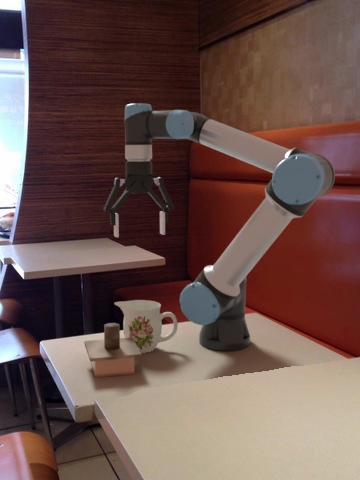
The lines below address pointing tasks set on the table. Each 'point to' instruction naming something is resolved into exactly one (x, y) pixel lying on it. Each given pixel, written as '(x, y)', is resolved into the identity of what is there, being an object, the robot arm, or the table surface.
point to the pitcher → (145, 323)
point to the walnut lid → (112, 345)
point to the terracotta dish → (113, 367)
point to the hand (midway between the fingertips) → (139, 235)
